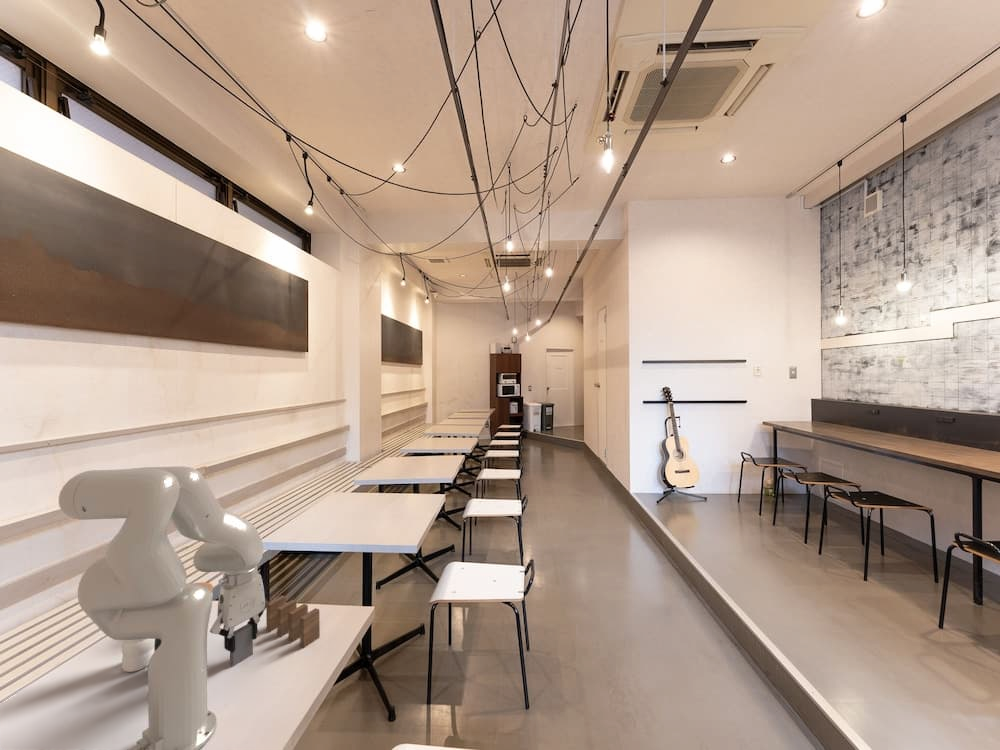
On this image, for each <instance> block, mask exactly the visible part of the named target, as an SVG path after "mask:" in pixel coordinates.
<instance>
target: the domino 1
mask: <svg viewBox="0 0 1000 750" xmlns="http://www.w3.org/2000/svg"><path fill="white" fill-rule="evenodd" d="M247 623H248V622H247ZM233 636H235V651H234V652H233V653H232V652H230V651H229V665H230V666H231V667H235V666H237V665H238V664H240V663H242V662H243V661H245V660H247V659H248V658H249V657H251V656H253V655H254V645H253V644H254V642H253V641H254V640H253V639H252V624H250V623H248V624H245V625H243V626H241V627H239V628H237V629H236V630H234V632H233Z"/></svg>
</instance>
